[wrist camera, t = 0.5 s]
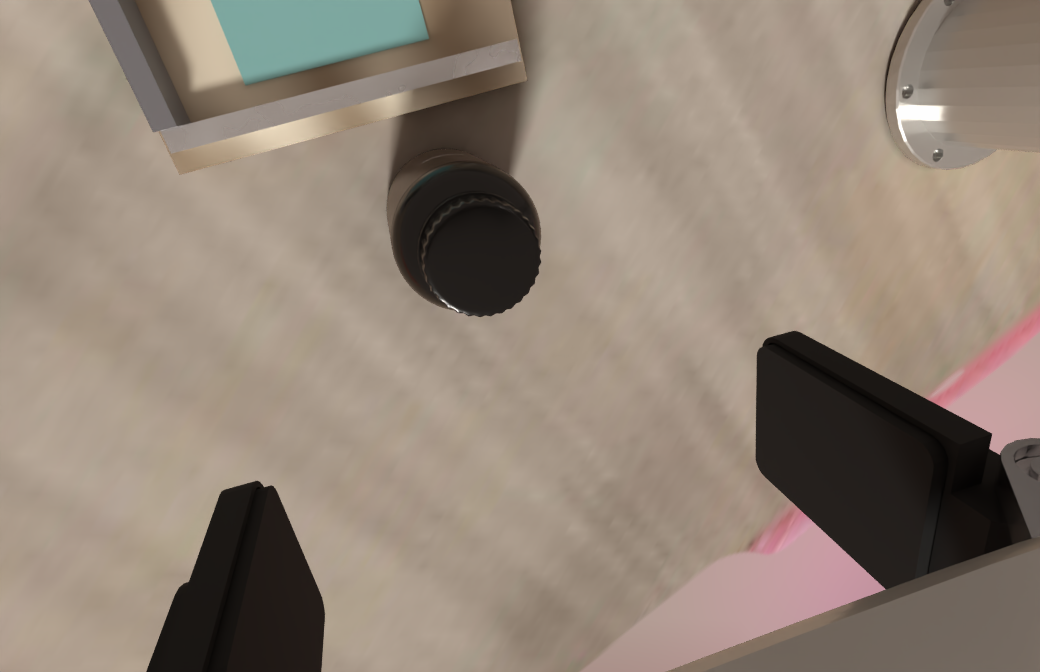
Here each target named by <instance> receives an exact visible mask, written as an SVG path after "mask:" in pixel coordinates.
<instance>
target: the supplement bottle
mask: <svg viewBox="0 0 1040 672" xmlns="http://www.w3.org/2000/svg"><path fill="white" fill-rule="evenodd" d="M387 220H388V226H389V233H390V239H391V245H392V250H393V254H394V258H395V261H396V263H397V266H398V268H399V270H400V272H401V274H402V276H403V277H404V279H405V280H406V282H407V283H408V284H409V285H410V287H411V288H412V289H413V290H414V291H415V292H416V293H418V294H419V295H420V296H421V297H423V298H424V299H426V300H427V301H429V302H431V303H433V304H435V305H437V306H440V307H442V308H445V309H450V310H455V311H456V312H457V313H464V314H466V315H468V316H472V315H475V316H478V317H482V316H485V315H487V316H492V315H494V314H496V313H503V312H504V311H505V310H506V309H511V308H512V307H513V306H514V305H515V304H516V303H519V302H521V300H522V298H523V296H525V295H527V294H528V293H529V290H530V287H531V286H533V285H534V284H535V278H536V276H537V275H538V274H539V269H538V267H539V265H540V263H541V260H540V254H541V250H540V245H541V227H540V221H539V217H538V213H537V210H536V208H535V205H534V203H533V201H532V199H531V198H530V196H529V194H528V193H527V192H526V190H525V189H524V188H523V187H522V186H521V185H520V184H519V183H518V182H517V181H516V180H515V179H514V178H513V177H512V176H510V175H509V174H508V173H506V172H504V171H503V170H501V169H499V168H497V167H495V166H494V165H492V164H490V163H488V162H486V161H484V160H482V159H480V158H478V157H476V156H474V155H472V154H470V153H467V152H464V151H461V150H457V149H436V150H431V151H427V152H425V153H422V154H420V155H418V156H416V157H415V158H413V159H412V160H410V161H409V162H408V163H407V164H405V165H404V166H403V168H402V169H401V170H400V171H399V172H398V174H397V175H396V177H395V178H394V180H393V182H392V185H391V187H390V190H389V194H388V199H387Z"/></svg>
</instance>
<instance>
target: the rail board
mask: <svg viewBox="0 0 1040 672" xmlns="http://www.w3.org/2000/svg"><path fill="white" fill-rule="evenodd" d="M89 2H90V4H91V6H92V8H93V10H94V12H95V14H96V16H97V18H98V20H99V23H100V25H101V27H102V29H103V31H104V33H105V35H106V37H107V39H108V41H109V43H110V45H111V47H112V49H113V51H114V53H115V55H116V57H117V59H118V61H119V63H120V65H121V67H122V70H123V72H124V74H125V76H126V78H127V80H128V82H129V84H130V86H131V88H132V90H133V92H134V94H135V96H136V98H137V100H138V102H139V104H140V106H141V108H142V110H143V112H144V114H145V116H146V119H147V121H148V123H149V125H150V127H151V129H152V131H153V132H158V131H159V133H160V135H161V137H162V140H163V142H164V144H165V146H166V148H167V150H168V152H169V154H170V156H171V158H172V160H173V162H174V164H175V166H176V168H177V170H178V172H179V175H181V174H184V173H188V172H192V171H195V170H199V169H203V168H206V167H210V166H214V165H217V164H221V163H225V162H229V161H232V160H236V159H240V158H243V157H247V156H251V155H254V154H258V153H262V152H266V151H269V150H273V149H277V148H280V147H284V146H288V145H291V144H295V143H299V142H302V141H306V140H310V139H314V138H317V137H321V136H325V135H328V134H332V133H336V132H339V131H343V130H347V129H351V128H354V127H358V126H362V125H365V124H369V123H373V122H376V121H380V120H384V119H387V118H391V117H395V116H399V115H402V114H406V113H410V112H413V111H417V110H421V109H424V108H428V107H432V106H436V105H439V104H443V103H447V102H450V101H454V100H458V99H461V98H465V97H469V96H472V95H476V94H480V93H484V92H487V91H491V90H495V89H498V88H502V87H506V86H509V85H513V84H517V83H521V82H524V81H528V80H527V76H526V71H525V66H524V61H523V57H522V52H521V47H520V43H519V38H518V33H517V28H516V24H515V19H514V14H513V10H512V5H511V0H89Z"/></svg>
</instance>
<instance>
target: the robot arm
mask: <svg viewBox="0 0 1040 672" xmlns="http://www.w3.org/2000/svg"><path fill="white" fill-rule="evenodd" d="M885 100H886V112H887V120H888V124H889V127H890V131H891V134H892V136H893V138H894V140H895V142H896V144H897V146H898V148H899V149H900V150H901V151H902V152H903V153H904V154H905V156H906V157H907V158H909V159H910V160H912V161H913V162H915V163H916V164H918V165H922V166H925V167H928V168H935V169H944V170H950V169H960V168H964V167H967V166H970V165H973V164H975V163H977V162H979V161H981V160H983V159H984V158H986V157H988V156H990V155H991V154H992V153H994V152H995V151H996V150H997V149H998V150H1011V151H1024V152H1037V153H1040V0H922V1H921V3H920V4H919V6H918V7H917V9H916V10H915V11H914V13H913V14H912V16H911V17H910V19H909V20H908V22H907V24H906V26H905V28H904V30H903V32H902V34H901V36H900V38H899V40H898V43H897V46H896V48H895V51H894V54H893V57H892V59H891V64H890V68H889V73H888V78H887V86H886V99H885ZM991 437H992V433H990V432H987V431H986V430H984V429H982V428H980V427H978V426H976V425H974V424H972V423H971V422H969V421H967V420H965V419H963V418H961V417H959V416H957V415H956V414H954V413H952V412H950V411H948V410H946V409H944V408H942V407H940V406H938V405H937V404H935V403H933V402H931V401H929V400H927V399H925V398H923V397H921V396H920V395H918V394H916V393H914V392H912V391H910V390H908V389H906V388H904V387H902V386H901V385H899V384H897V383H895V382H893V381H891V380H889V379H887V378H885V377H884V376H882V375H880V374H878V373H876V372H874V371H872V370H870V369H868V368H866V367H865V366H863V365H861V364H859V363H857V362H855V361H853V360H851V359H849V358H848V357H846V356H844V355H842V354H840V353H838V352H836V351H834V350H832V349H830V348H829V347H827V346H825V345H823V344H821V343H819V342H817V341H815V340H813V339H812V338H810V337H808V336H806V335H804V334H802V333H800V332H797V331H791V332H788V333H784V334H781V335H777V336H773V337H770V338H767V339H766V340H765V341H764V343H763V347H761V348H760V349H759V350H758V352H757V389H756V462H757V465H758V468H759V470H760V471H761V473H762V474H763V475H764V476H765V477H766V478H767V479H768V480H769V481H770V482H771V483H772V484H773V485H774V486H775V487H776V488H778V489H779V490H780V491H781V492H782V493H783V494H784V495H785V496H786V497H787V498H788V499H789V500H790V501H791V502H793V503H794V504H795V505H796V506H797V507H798V508H799V509H800V510H801V511H802V512H803V513H804V514H805V515H807V516H808V517H809V518H810V519H811V520H812V521H813V522H814V523H815V524H816V525H817V526H818V527H819V528H821V529H822V530H823V531H824V532H825V533H826V534H827V535H828V536H829V537H830V538H832V539H833V541H835V542H836V543H837V544H838V545H839V546H840V547H841V548H842V549H843V550H844V551H846V553H847V554H849V555H850V556H851V557H852V558H853V559H854V560H855V561H856V562H857V563H858V564H859V565H860V566H861V567H863V568H864V569H865V570H866V571H867V572H868V573H869V574H870V575H871V576H872V577H873V578H874V579H876V580H877V581H878V582H879V583H880V584H881V585H882V586H883V587H884V588H885V589H886V590H884V591H881V592H879V593H876V594H873V595H871V596H868V597H865V598H862V599H859V600H857V601H854V602H851V603H849V604H846V605H843V606H841V607H838V608H835V609H832V610H830V611H827V612H824V613H822V614H819V615H816V616H813V617H811V618H808V619H805V620H802V621H800V622H797V623H794V624H792V625H789V626H786V627H784V628H781V629H778V630H776V631H773V632H770V633H768V634H765V635H763V636H760V637H757V638H755V639H752V640H749V641H746V642H744V643H741V644H738V645H736V646H733V647H730V648H728V649H725V650H722V651H720V652H717V653H715V654H712V655H709V656H706V657H704V658H701V659H698V660H696V661H693V662H691V663H688V664H685V665H683V666H680V667H677V668H675V669H672V670H670V671H667V672H1040V439H1039V438H1038V439H1037V438H1029V439H1022V440H1016V441H1014V442H1012V443H1010V444H1007V445H1006V446H1005V447H1004V448H1003V450H1002V451H1001V453H1000V455H999V454H997V453H995V452H993V451H992V450H990V449H989V446H990V441H991ZM324 622H325V612H324V604H323V600H322V597H321V594H320V592H319V589H318V587H317V585H316V582H315V580H314V577H313V575H312V573H311V570H310V568H309V566H308V563H307V561H306V559H305V556H304V554H303V552H302V549H301V547H300V545H299V542H298V540H297V538H296V535H295V533H294V531H293V528H292V526H291V523H290V521H289V519H288V516H287V514H286V512H285V509H284V507H283V505H282V502H281V500H280V498H279V495H278V493H277V491H276V489H275V488H274V487H273V486H268V487H263V485H262V484H261V483H260V482H259V481H254V482H251V483H247V484H244V485H240V486H236V487H233V488H229V489H226V490H223V491H222V492H221V494H220V496H219V498H218V501H217V504H216V507H215V510H214V513H213V515H212V518H211V521H210V524H209V527H208V530H207V532H206V535H205V538H204V541H203V544H202V547H201V549H200V552H199V555H198V558H197V561H196V564H195V566H194V569H193V572H192V575H191V578H190V581H189V582H187V583H184V584H183V585H182V586H181V587H179V589H178V591H177V592H176V594H175V596H174V599H173V602H172V604H171V607H170V610H169V612H168V615H167V618H166V620H165V623H164V626H163V628H162V631H161V634H160V636H159V639H158V642H157V645H156V647H155V650H154V653H153V655H152V658H151V661H150V663H149V666H148V669H147V671H146V672H321V667H322V652H323V637H324Z"/></svg>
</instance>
